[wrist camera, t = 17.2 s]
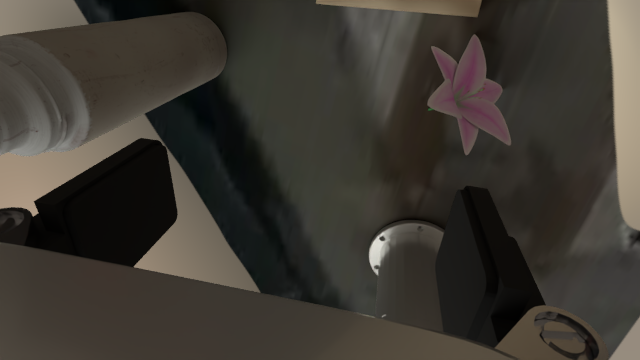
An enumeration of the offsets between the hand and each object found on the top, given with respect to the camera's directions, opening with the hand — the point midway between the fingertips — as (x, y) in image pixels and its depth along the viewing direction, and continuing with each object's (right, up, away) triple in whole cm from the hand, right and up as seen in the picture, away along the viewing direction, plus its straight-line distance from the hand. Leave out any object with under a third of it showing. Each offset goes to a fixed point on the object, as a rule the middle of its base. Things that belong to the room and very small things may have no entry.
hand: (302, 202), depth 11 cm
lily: (+16, +11, +28) cm, 34 cm away
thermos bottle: (-15, +17, +32) cm, 39 cm away
